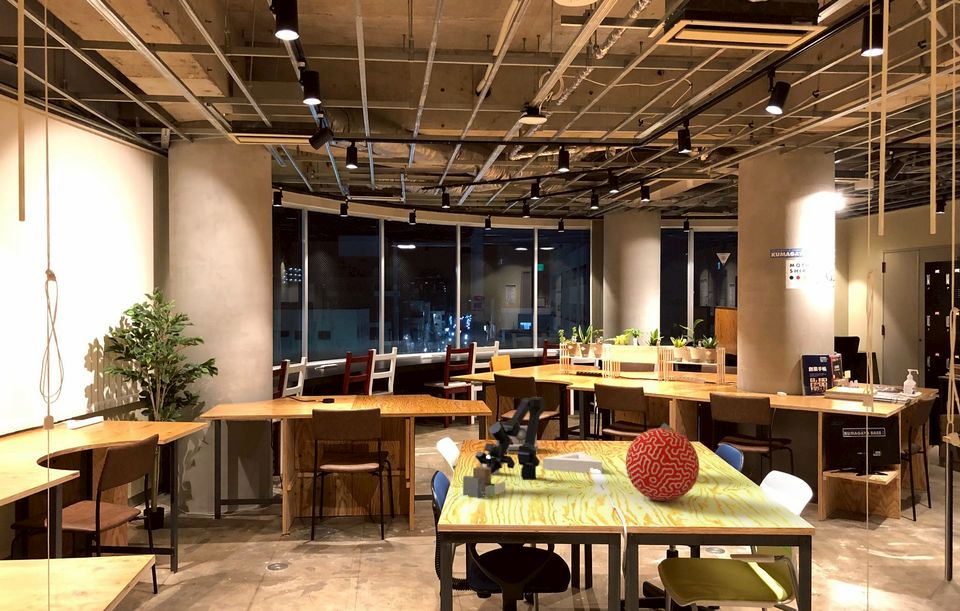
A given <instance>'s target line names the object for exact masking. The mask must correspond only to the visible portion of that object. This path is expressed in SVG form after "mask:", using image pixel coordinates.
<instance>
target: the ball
mask: <svg viewBox="0 0 960 611" xmlns="http://www.w3.org/2000/svg"><path fill="white" fill-rule="evenodd" d="M674 430H675V429H673V430H670V429H665V428H660V427H657V428H656V427H655V428H651V429H648V430H647V431H644V432H642V433H640V434H639V435H638V436H636V437H635V438H634V440H633V441H632V443H631V444H630V446H629V447H628V449H627V452H626V455H625V456H626V457H625V470H626V473H627V475H628V476H627V477H628V478H629V479H630V482H631V484H632V486H633V487H634V488H635V490H637V491H638V492H639V493H640V494H642V495H644V496H645V497H647V498H648V499H650V500H651V499H652V500H655V501H659V502H668V501H674V500H677V499H679V498H682V497H683V496H685V495H686V494H687V493H689V492H690V491H691V490H692V489H693V487H694V485H695V484H696V483H697V480H698V476H699V472H700V461H699V455H698V453H697V451H696V448H695V447H694V445H693V444H692V442H691V441H690V440H689V439H688V438H687V437H685V436H684V435H683V434H681V433H680V432H678V431H676V430H675V431H674Z"/></svg>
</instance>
